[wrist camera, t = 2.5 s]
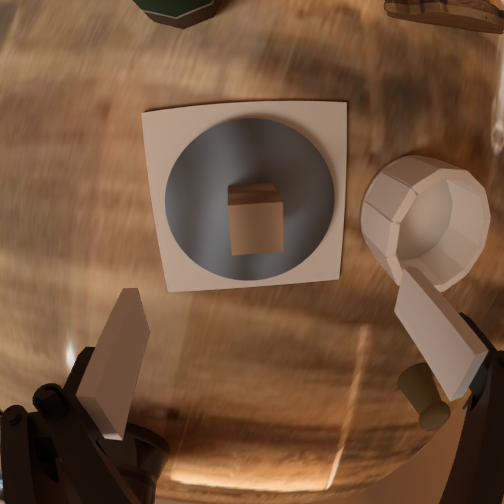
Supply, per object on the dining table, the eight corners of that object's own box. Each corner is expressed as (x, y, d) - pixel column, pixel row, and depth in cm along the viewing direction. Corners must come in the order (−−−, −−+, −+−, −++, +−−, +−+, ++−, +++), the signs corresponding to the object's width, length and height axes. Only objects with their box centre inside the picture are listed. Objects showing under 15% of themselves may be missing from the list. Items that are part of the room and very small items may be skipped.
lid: (179, 280, 33) (169, 321, 27) (158, 126, 26) (136, 132, 20) (327, 268, 34) (348, 306, 28) (331, 116, 27) (361, 120, 21)
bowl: (354, 267, 35) (378, 301, 29) (362, 152, 29) (395, 166, 23) (443, 258, 36) (473, 286, 29) (458, 158, 30) (497, 173, 24)
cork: (410, 362, 44) (438, 413, 34) (434, 363, 45) (462, 410, 35) (391, 387, 46) (414, 438, 36) (415, 387, 47) (439, 433, 37)
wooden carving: (470, 4, 21) (525, -6, 12) (479, 38, 23) (538, 34, 14) (356, -4, 22) (403, -37, 13) (368, 35, 24) (422, 14, 15)
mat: (169, 289, 35) (168, 292, 34) (143, 112, 26) (141, 113, 26) (337, 276, 35) (338, 279, 35) (344, 102, 27) (346, 102, 26)
